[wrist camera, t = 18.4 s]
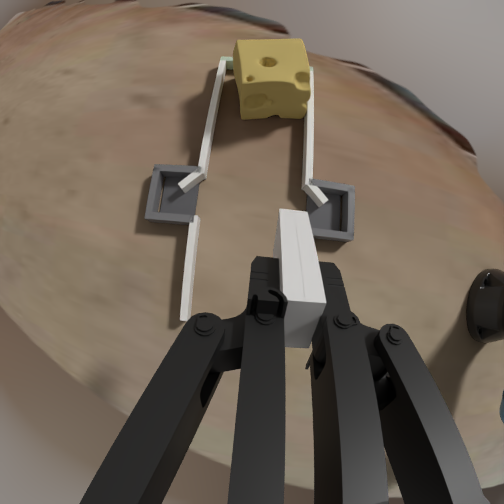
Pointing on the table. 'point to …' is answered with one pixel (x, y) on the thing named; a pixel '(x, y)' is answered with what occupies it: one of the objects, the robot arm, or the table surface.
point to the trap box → (188, 177)
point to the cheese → (272, 78)
